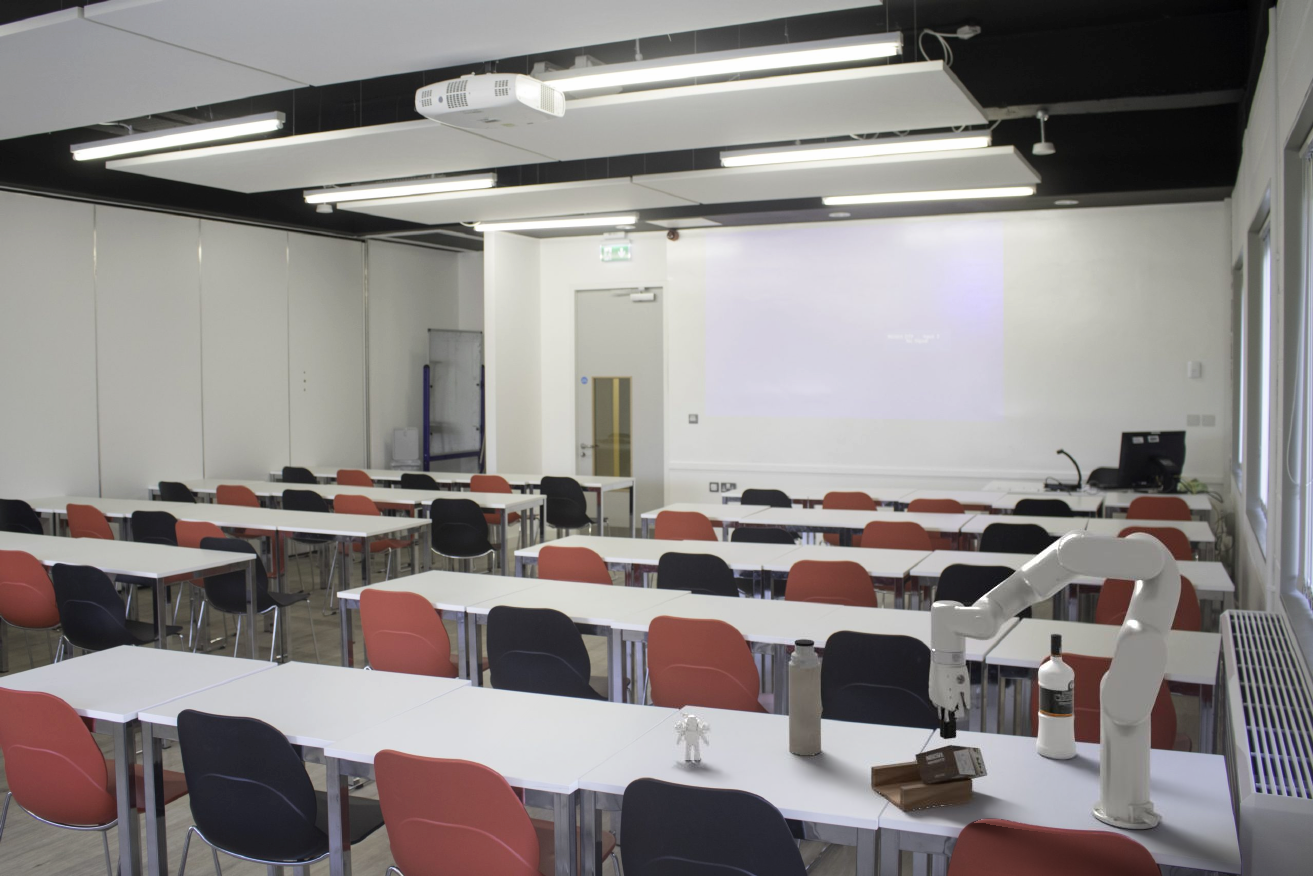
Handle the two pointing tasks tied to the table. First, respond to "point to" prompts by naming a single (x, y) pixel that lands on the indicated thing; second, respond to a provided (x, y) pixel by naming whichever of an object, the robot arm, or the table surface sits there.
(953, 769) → the coffee box
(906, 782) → the u rest
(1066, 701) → the vodka
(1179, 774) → the table surface
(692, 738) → the blocky character figurine
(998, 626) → the robot arm
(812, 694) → the thermos bottle
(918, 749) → the table surface
